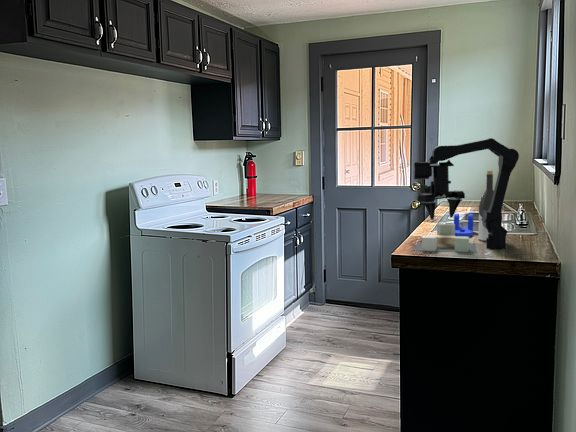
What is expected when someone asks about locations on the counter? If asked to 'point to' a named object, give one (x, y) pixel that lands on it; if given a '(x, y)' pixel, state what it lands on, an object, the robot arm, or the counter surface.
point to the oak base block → (445, 241)
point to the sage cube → (461, 244)
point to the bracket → (463, 230)
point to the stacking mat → (446, 230)
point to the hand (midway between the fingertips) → (441, 218)
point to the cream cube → (429, 243)
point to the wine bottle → (485, 206)
